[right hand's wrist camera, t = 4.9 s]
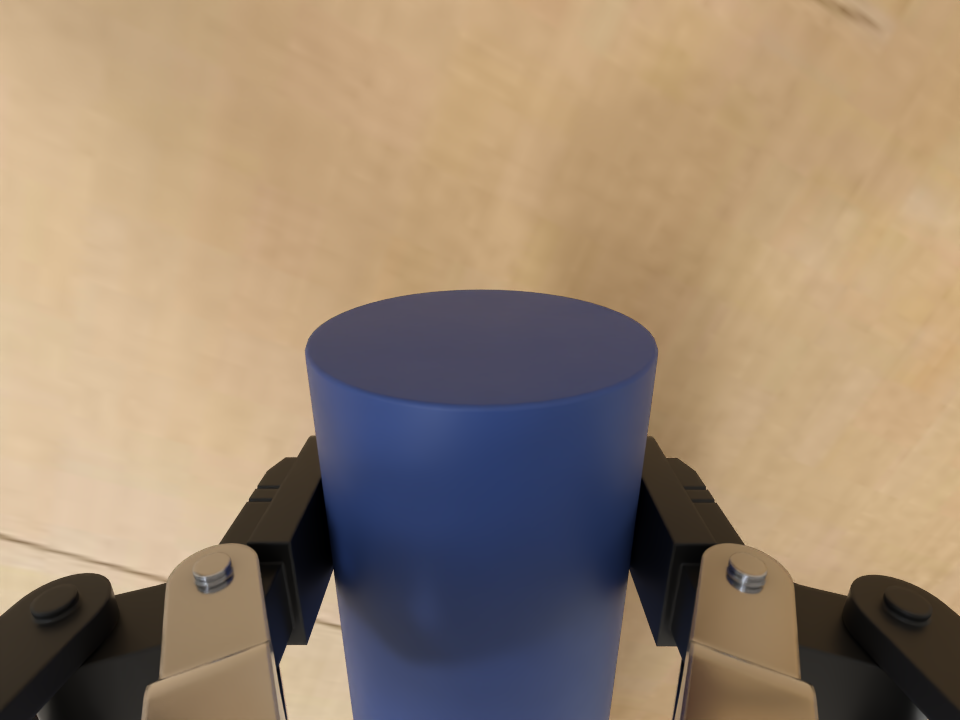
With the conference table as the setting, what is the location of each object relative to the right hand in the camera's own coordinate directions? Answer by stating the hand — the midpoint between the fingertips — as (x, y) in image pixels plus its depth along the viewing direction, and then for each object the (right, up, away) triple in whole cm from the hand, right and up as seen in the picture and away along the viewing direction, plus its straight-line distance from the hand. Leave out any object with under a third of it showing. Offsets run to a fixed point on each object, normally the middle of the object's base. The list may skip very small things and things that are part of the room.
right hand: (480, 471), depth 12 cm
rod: (0, -9, +5) cm, 10 cm away
